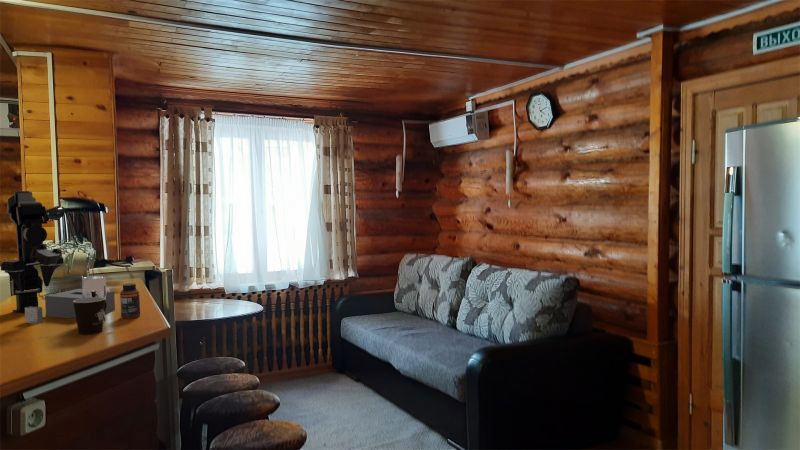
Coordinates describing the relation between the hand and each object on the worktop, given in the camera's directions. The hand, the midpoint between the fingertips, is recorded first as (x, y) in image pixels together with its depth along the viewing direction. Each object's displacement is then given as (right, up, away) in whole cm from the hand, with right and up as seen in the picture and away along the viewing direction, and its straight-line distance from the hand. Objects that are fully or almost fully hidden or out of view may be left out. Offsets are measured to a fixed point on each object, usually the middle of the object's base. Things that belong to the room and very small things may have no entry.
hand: (34, 288), depth 187 cm
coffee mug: (+26, -12, -11) cm, 31 cm away
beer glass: (+20, -11, 0) cm, 23 cm away
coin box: (+8, -10, +14) cm, 19 cm away
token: (0, -11, 0) cm, 11 cm away
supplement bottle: (+28, -11, +8) cm, 31 cm away
